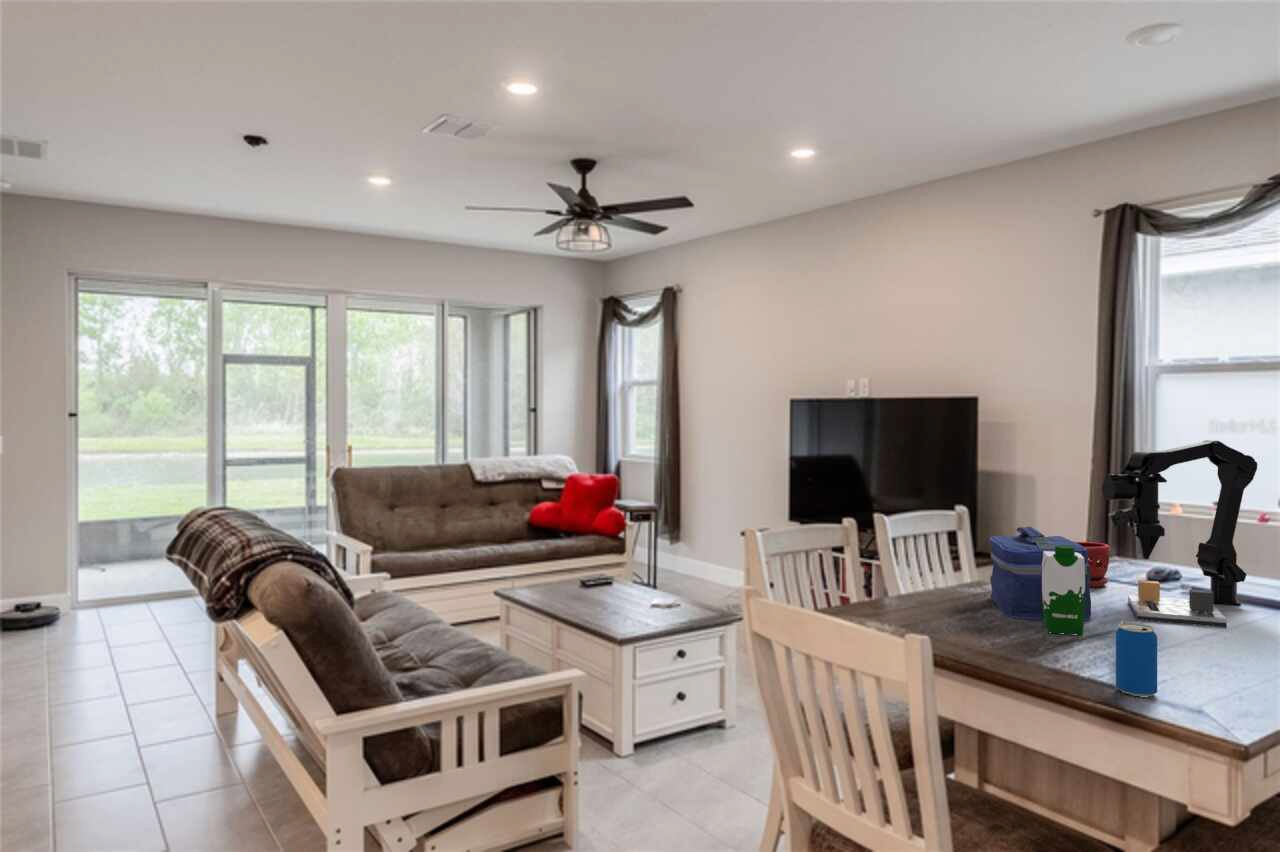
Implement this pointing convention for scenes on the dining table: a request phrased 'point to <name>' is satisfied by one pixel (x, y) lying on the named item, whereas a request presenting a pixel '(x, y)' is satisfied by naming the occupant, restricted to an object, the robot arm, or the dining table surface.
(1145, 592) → the orange fader
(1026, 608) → the lunch bag
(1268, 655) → the dining table surface
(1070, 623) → the milk carton
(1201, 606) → the black fader
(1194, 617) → the panel
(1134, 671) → the beverage can
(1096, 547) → the plant pot
